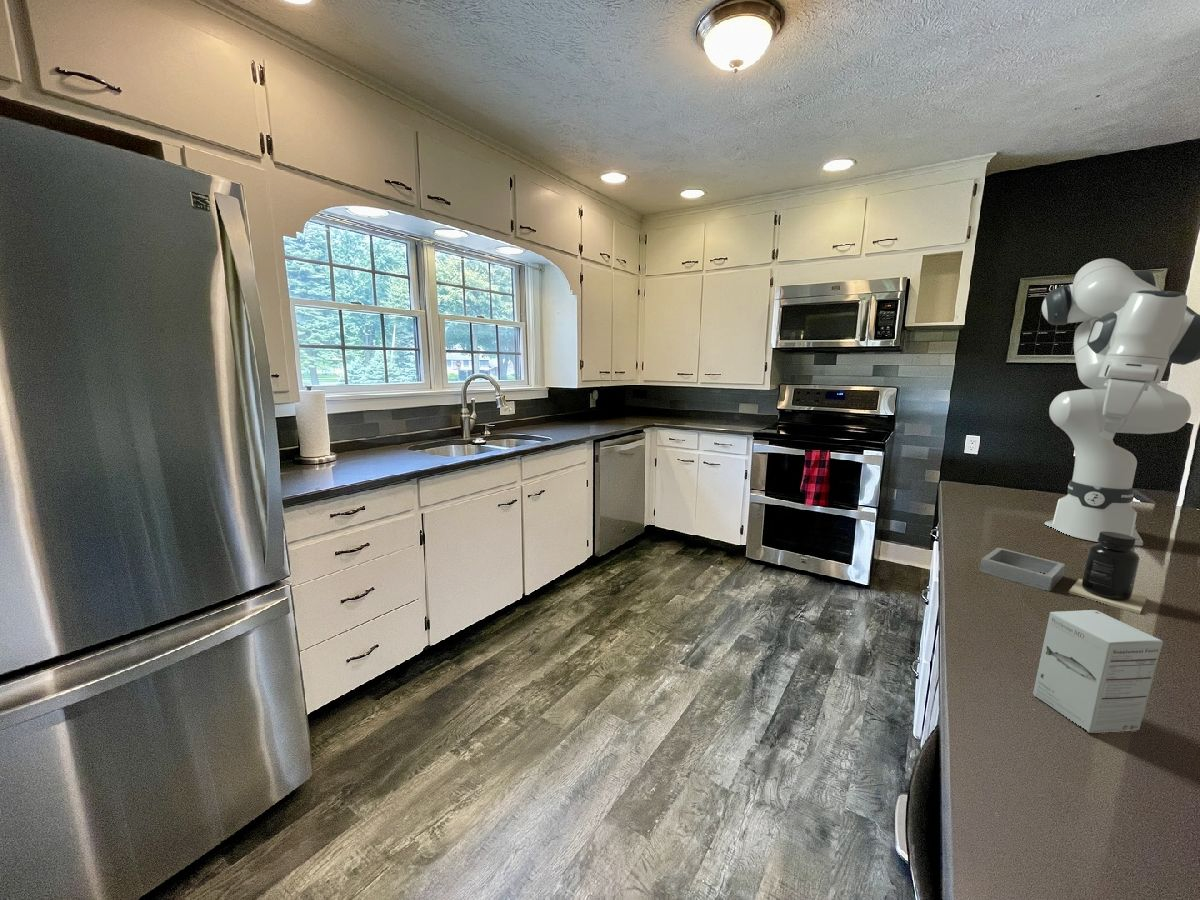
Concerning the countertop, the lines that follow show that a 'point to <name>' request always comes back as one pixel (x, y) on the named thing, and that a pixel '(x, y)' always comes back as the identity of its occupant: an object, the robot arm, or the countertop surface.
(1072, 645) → the supplement box
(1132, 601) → the birch pad
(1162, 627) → the countertop surface
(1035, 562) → the steel holder
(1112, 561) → the supplement bottle
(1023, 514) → the countertop surface
